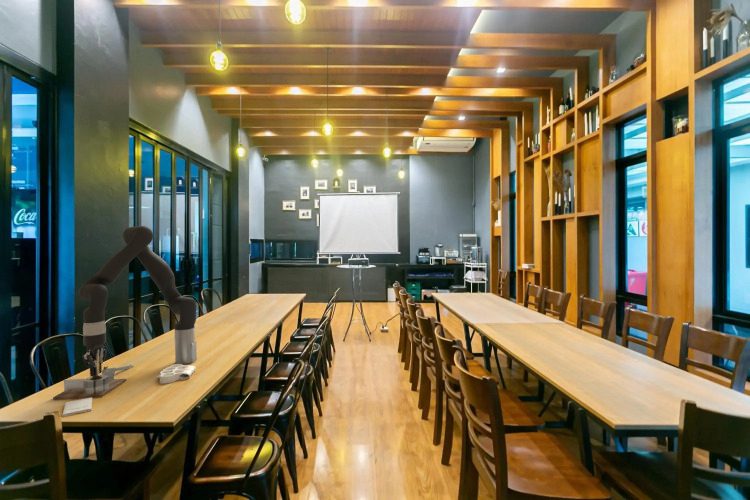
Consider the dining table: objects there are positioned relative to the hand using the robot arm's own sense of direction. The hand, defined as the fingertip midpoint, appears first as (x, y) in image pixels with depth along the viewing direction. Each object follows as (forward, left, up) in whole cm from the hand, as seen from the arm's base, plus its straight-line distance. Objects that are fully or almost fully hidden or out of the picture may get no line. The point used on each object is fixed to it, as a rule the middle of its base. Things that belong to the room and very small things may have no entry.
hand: (96, 374), depth 157 cm
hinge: (+4, -4, -7) cm, 9 cm away
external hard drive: (-2, +15, -8) cm, 17 cm away
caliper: (+4, -24, -8) cm, 26 cm away
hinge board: (+4, -4, -8) cm, 9 cm away
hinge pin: (0, 0, -3) cm, 3 cm away
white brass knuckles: (-25, -16, -8) cm, 30 cm away
